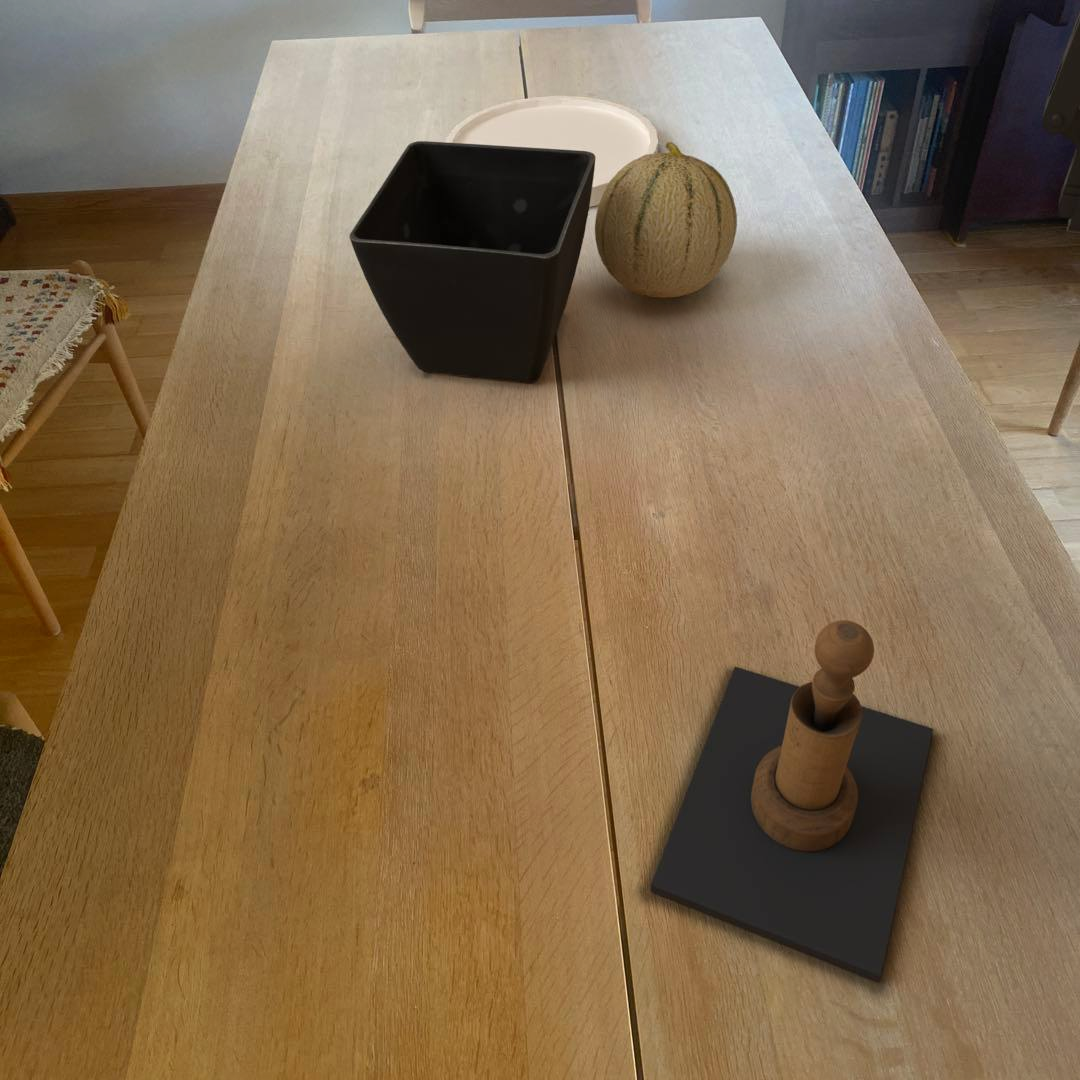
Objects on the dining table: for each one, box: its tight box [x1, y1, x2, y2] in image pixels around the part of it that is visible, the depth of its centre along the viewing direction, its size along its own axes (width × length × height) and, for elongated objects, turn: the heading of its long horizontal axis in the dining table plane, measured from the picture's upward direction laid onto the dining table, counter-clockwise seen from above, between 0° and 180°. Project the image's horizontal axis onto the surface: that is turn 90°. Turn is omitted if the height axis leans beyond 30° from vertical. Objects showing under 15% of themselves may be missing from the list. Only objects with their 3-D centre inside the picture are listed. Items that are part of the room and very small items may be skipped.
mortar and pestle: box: [751, 619, 875, 851], centre depth 58 cm, size 7×6×18 cm
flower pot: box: [348, 140, 595, 384], centre depth 97 cm, size 19×19×17 cm
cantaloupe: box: [594, 141, 738, 298], centre depth 104 cm, size 15×15×15 cm
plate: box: [444, 95, 659, 208], centre depth 131 cm, size 28×28×2 cm
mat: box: [650, 666, 934, 983], centre depth 65 cm, size 14×18×1 cm
